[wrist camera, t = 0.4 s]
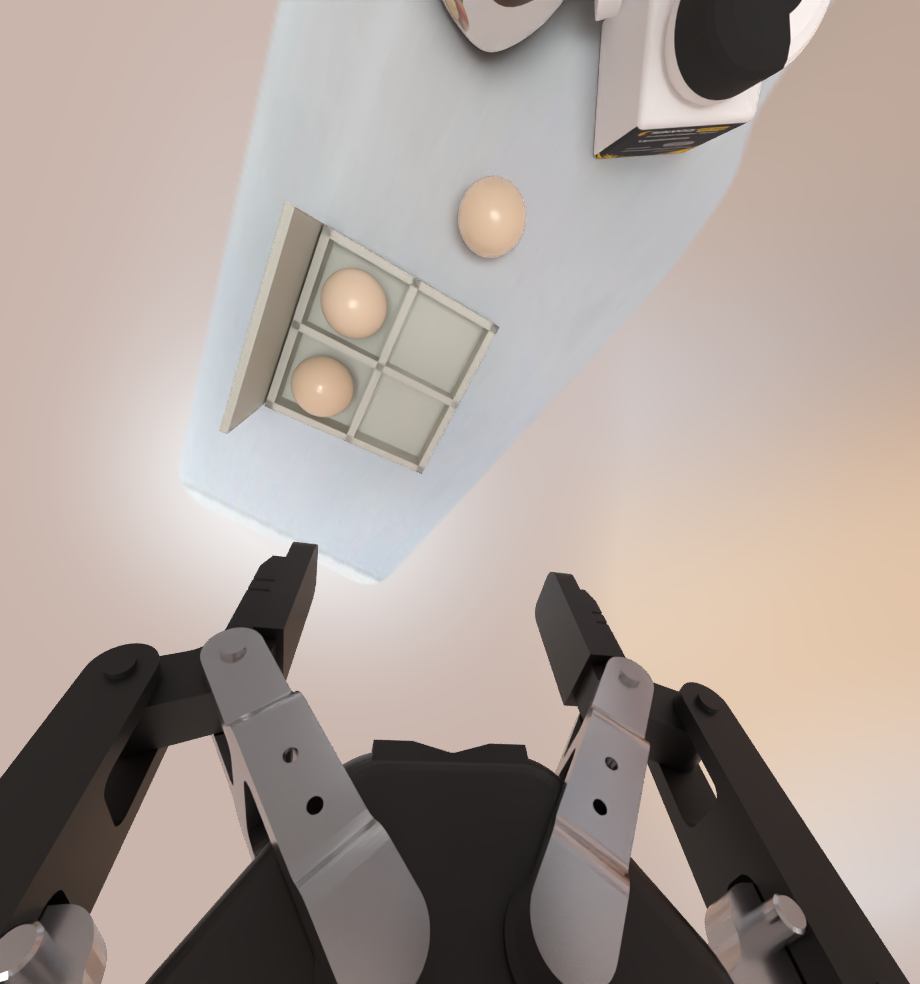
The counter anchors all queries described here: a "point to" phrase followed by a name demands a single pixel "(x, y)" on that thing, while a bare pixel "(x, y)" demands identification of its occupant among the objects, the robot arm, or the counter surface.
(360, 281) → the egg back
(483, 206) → the egg
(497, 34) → the spread jar
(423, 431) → the egg tray
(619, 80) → the medicine bottle
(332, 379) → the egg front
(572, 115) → the counter surface
